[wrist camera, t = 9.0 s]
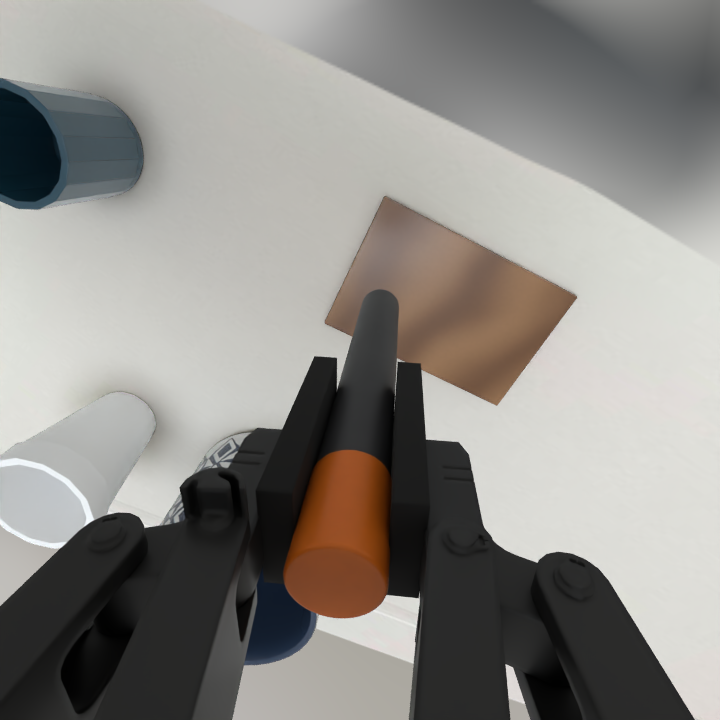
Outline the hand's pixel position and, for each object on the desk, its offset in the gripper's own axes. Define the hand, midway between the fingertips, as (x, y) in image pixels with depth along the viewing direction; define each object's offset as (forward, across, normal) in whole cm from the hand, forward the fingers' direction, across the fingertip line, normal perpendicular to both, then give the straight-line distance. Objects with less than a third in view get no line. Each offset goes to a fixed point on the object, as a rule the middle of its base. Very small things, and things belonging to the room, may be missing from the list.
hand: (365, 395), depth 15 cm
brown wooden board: (+25, +5, -5) cm, 26 cm away
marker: (+10, 0, 0) cm, 10 cm away
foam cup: (+25, -27, -19) cm, 41 cm away
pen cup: (+24, -24, +7) cm, 35 cm away
